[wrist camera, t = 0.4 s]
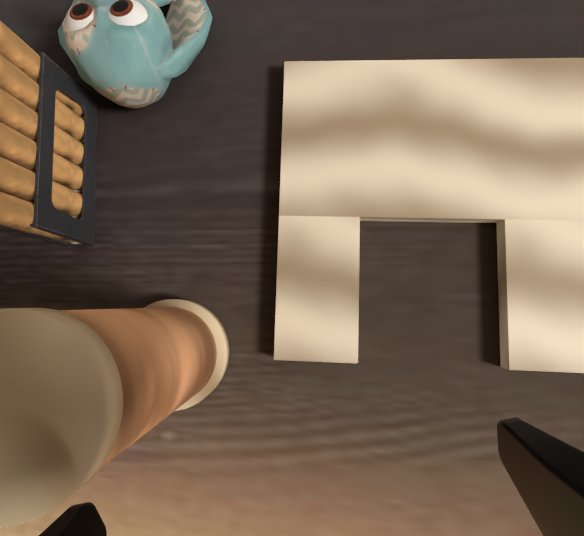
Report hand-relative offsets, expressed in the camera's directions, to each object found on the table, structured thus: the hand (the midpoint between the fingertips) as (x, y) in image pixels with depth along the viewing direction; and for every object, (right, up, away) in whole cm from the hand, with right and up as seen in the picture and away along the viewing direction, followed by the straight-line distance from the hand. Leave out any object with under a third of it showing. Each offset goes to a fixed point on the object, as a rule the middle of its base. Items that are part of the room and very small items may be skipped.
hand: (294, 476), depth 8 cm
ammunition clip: (-15, +11, +17) cm, 25 cm away
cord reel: (-7, -1, +15) cm, 17 cm away
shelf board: (+9, +8, +15) cm, 19 cm away
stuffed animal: (-11, +21, +18) cm, 29 cm away
